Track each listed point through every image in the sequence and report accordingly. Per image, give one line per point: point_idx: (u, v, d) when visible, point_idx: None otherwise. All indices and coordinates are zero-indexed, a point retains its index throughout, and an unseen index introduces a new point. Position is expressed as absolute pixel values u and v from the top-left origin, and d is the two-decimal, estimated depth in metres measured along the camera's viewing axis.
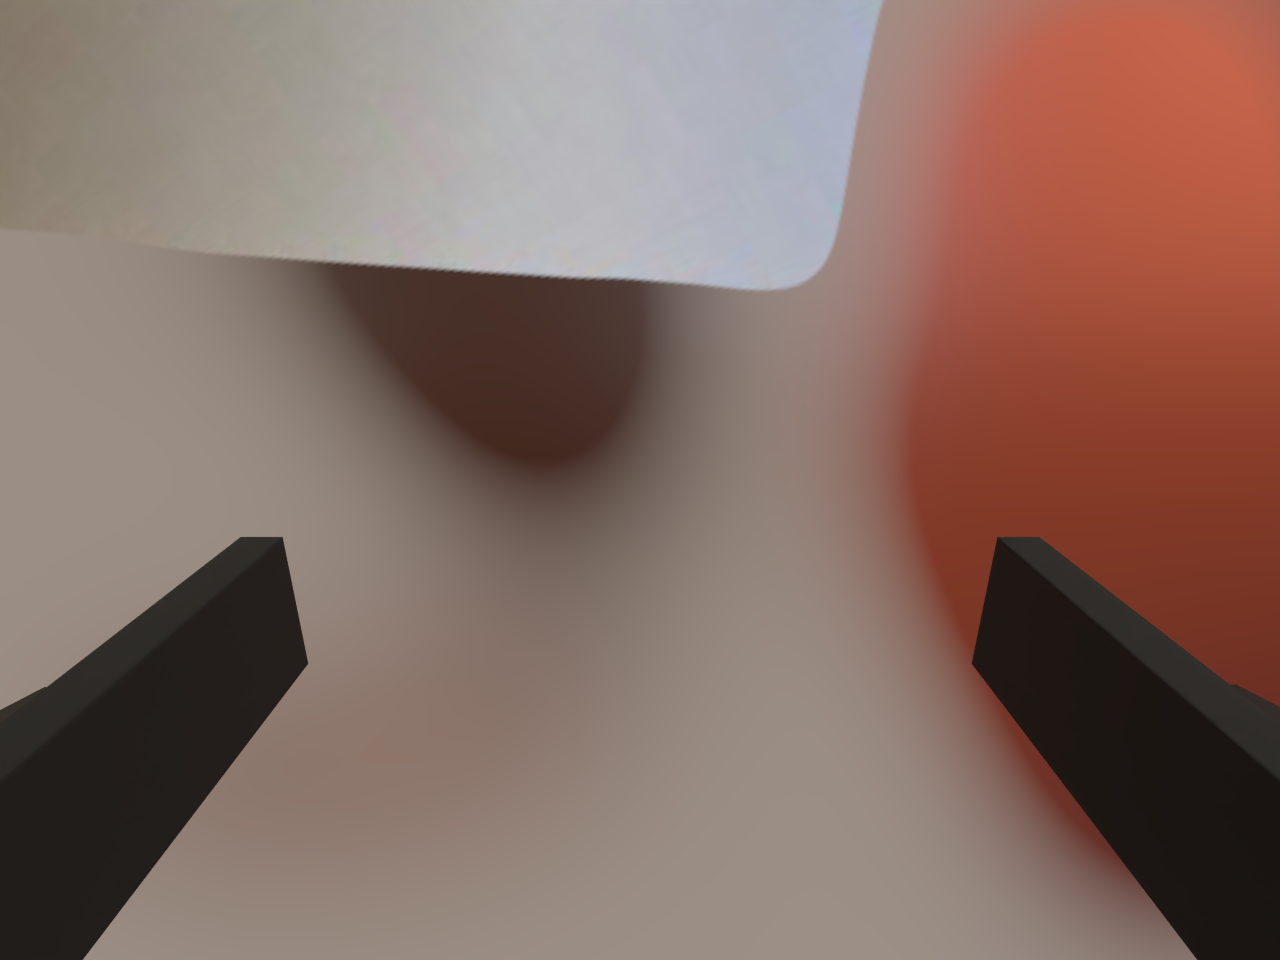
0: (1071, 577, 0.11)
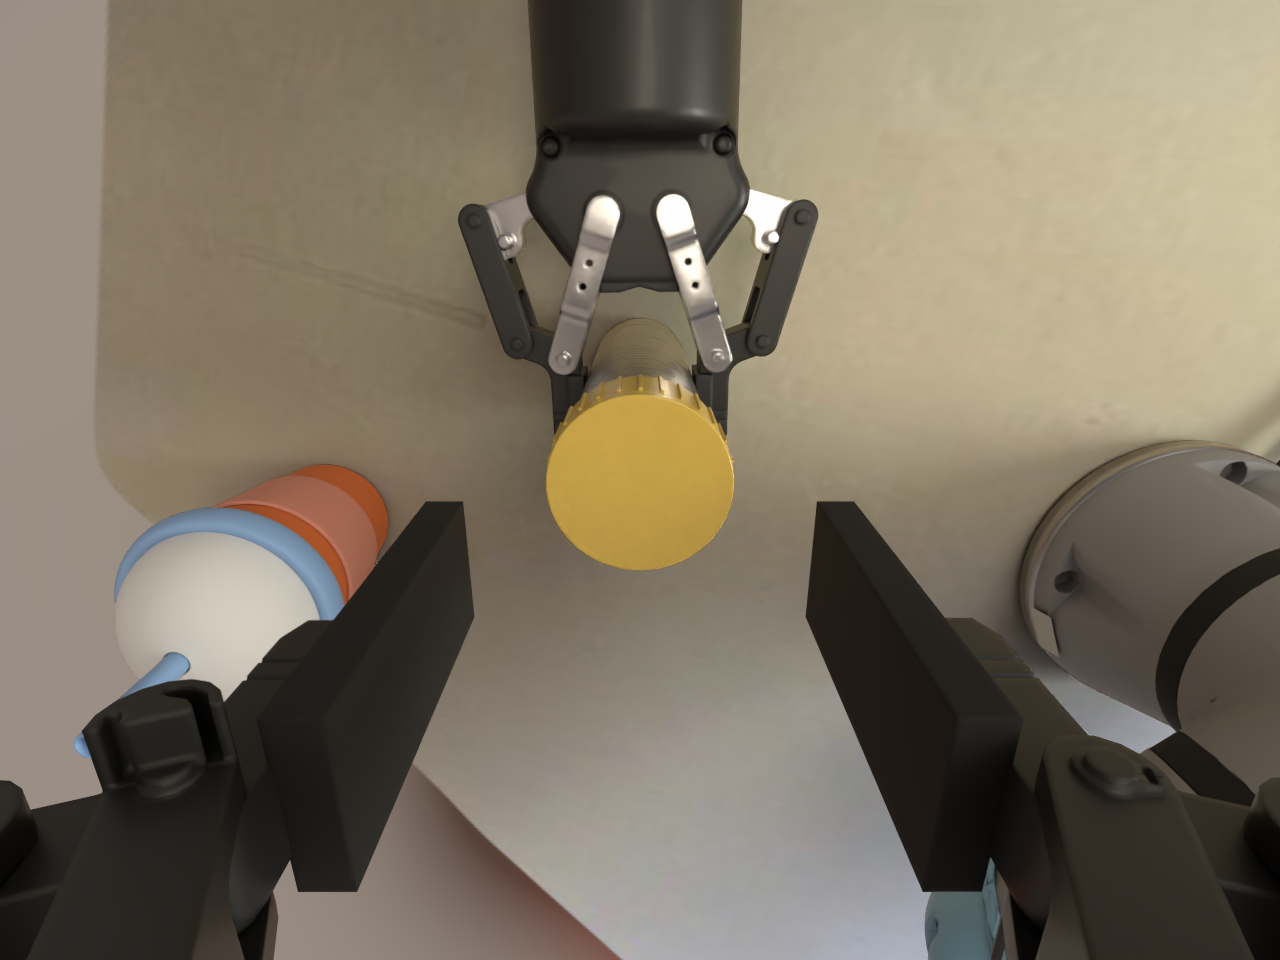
0: (862, 532, 0.12)
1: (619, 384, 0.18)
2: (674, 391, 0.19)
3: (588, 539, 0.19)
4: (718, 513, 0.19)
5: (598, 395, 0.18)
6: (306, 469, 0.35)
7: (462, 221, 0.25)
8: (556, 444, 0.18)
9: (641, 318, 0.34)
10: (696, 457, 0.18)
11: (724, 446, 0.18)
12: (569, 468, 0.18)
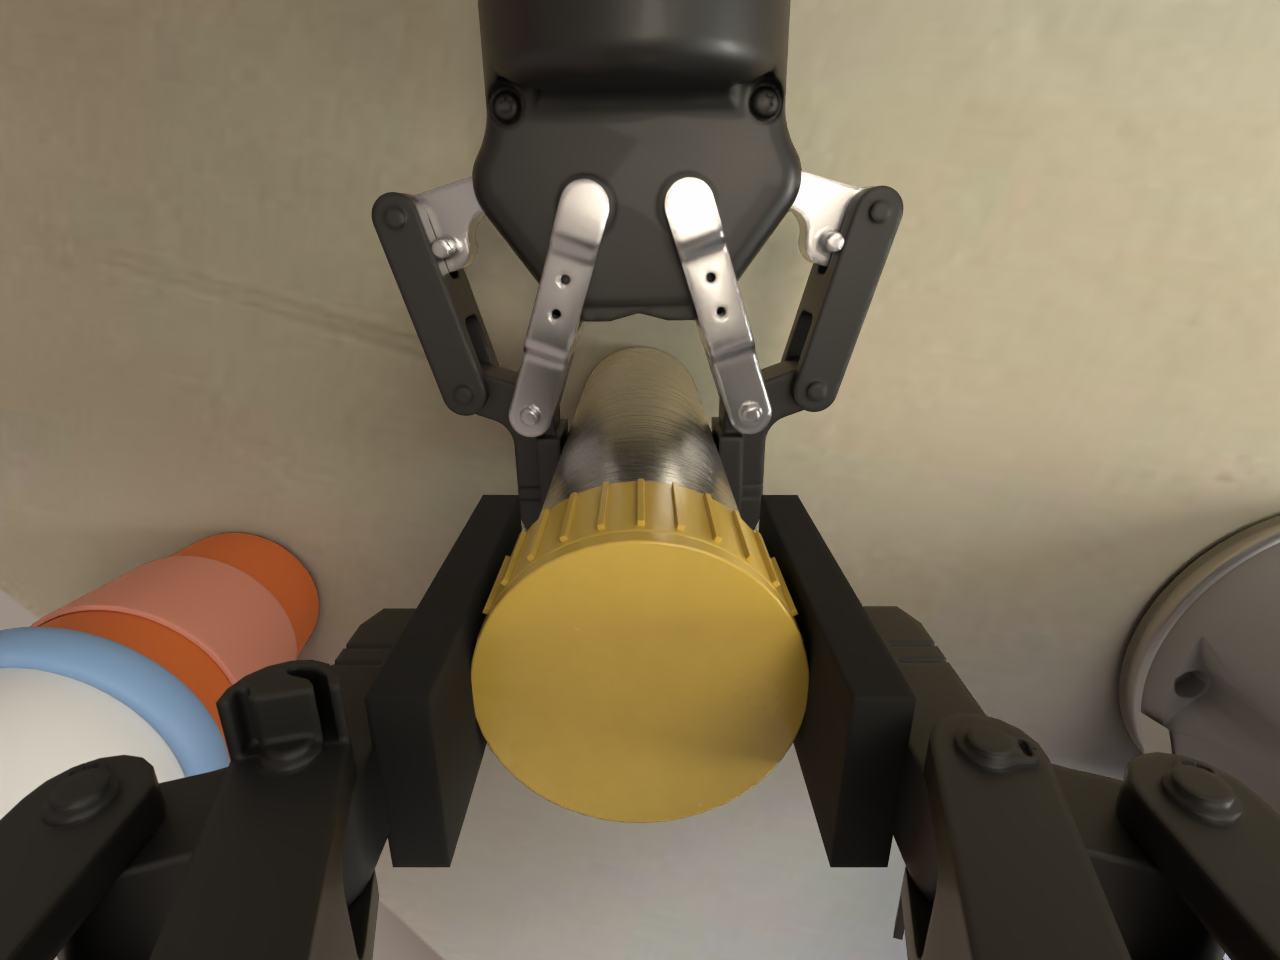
0: (798, 524, 0.13)
1: (603, 508, 0.10)
2: (701, 519, 0.10)
3: (549, 776, 0.11)
4: (779, 736, 0.10)
5: (564, 533, 0.10)
6: (206, 541, 0.27)
7: (378, 218, 0.17)
8: (486, 625, 0.10)
9: None
10: (743, 647, 0.10)
11: (795, 629, 0.10)
12: (511, 664, 0.10)
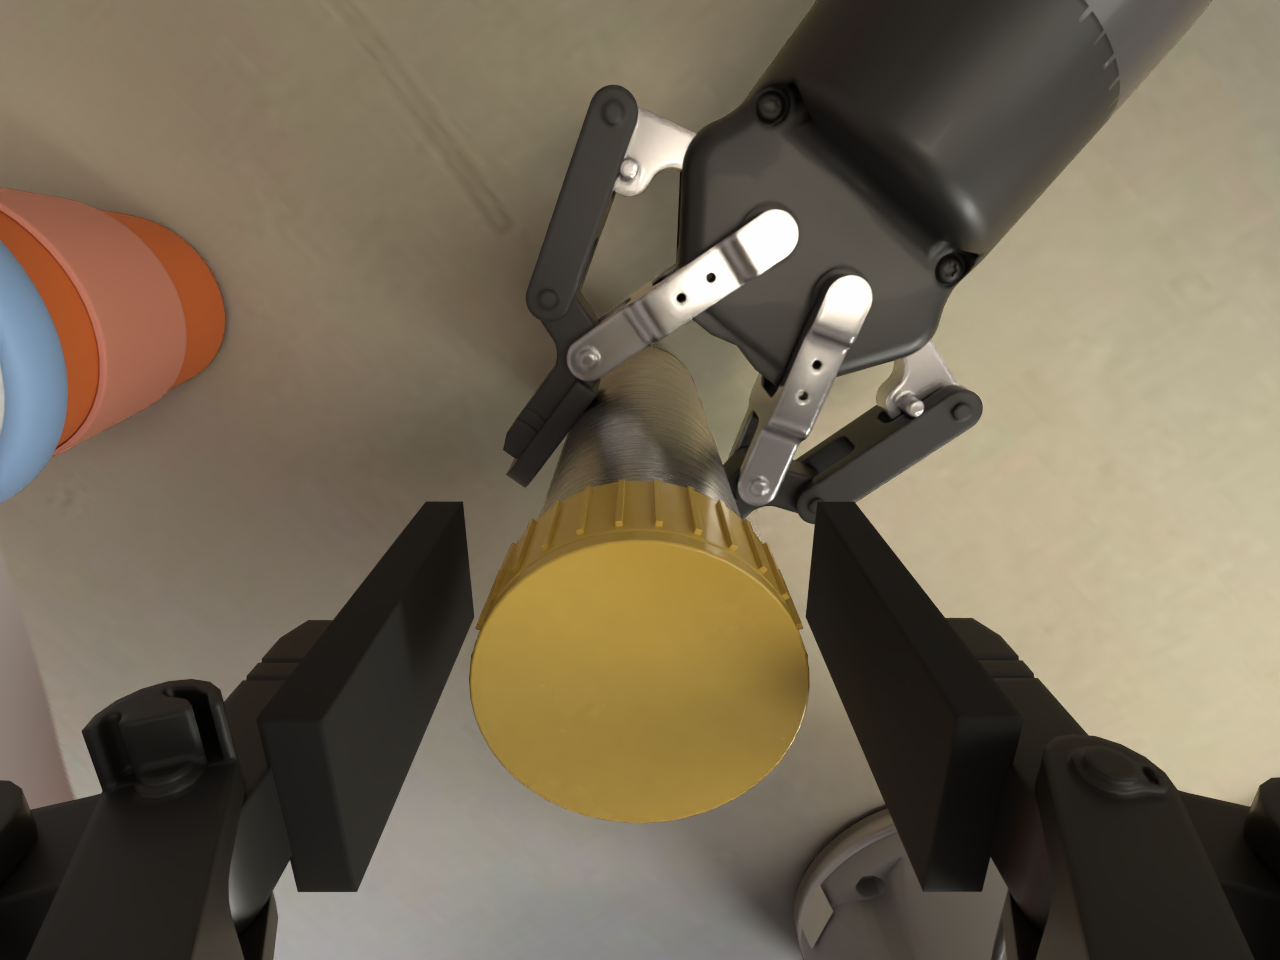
0: (861, 532, 0.12)
1: (499, 575, 0.11)
2: (573, 520, 0.10)
3: (646, 803, 0.11)
4: (782, 637, 0.10)
5: (478, 621, 0.10)
6: (146, 224, 0.23)
7: (598, 100, 0.16)
8: (482, 734, 0.10)
9: None
10: (671, 597, 0.10)
11: (693, 550, 0.09)
12: (529, 746, 0.11)
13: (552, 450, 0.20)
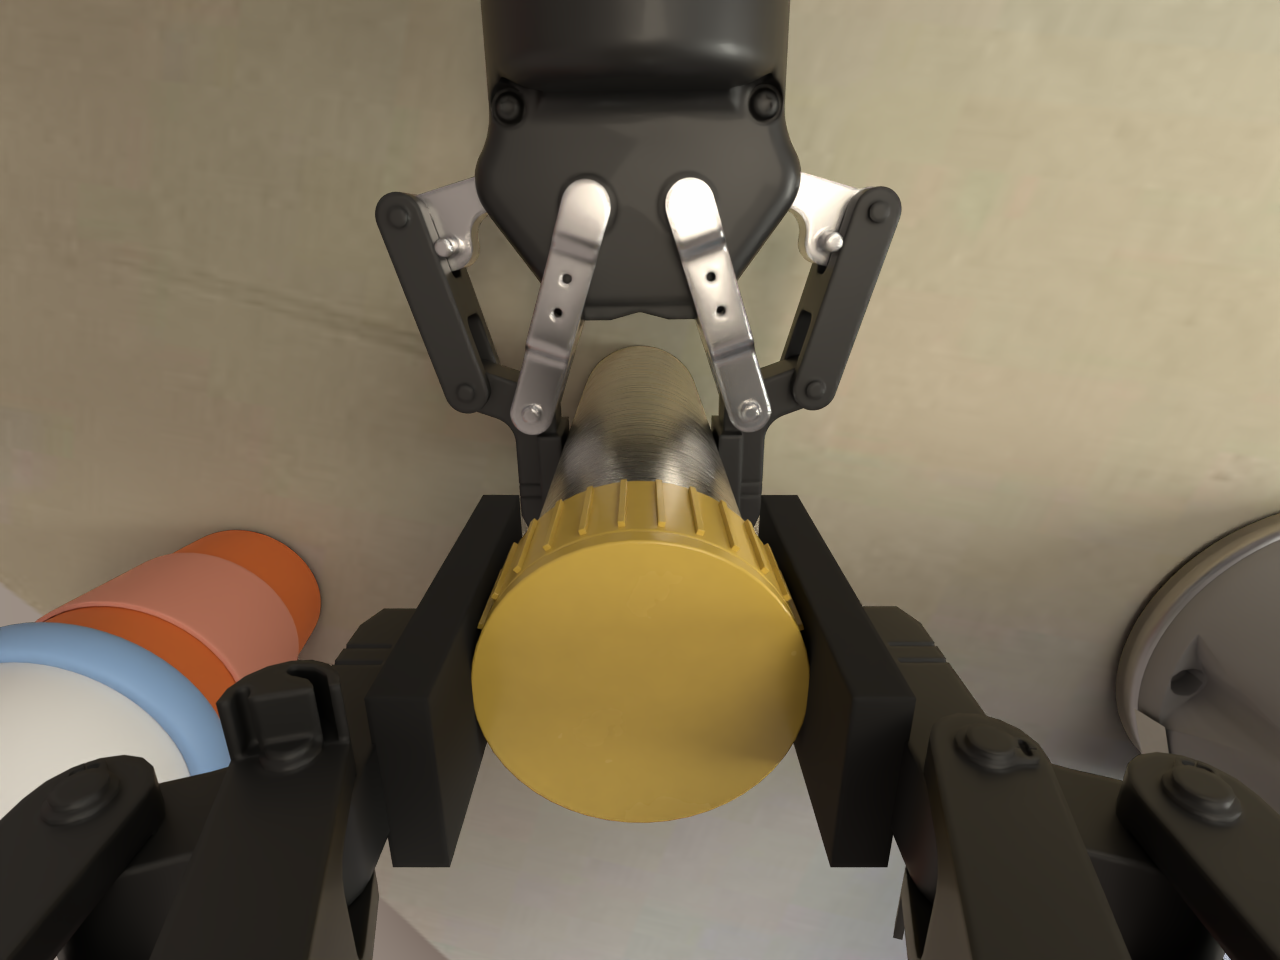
0: (798, 524, 0.13)
1: None
2: None
3: (729, 777, 0.11)
4: (713, 572, 0.09)
5: None
6: (209, 538, 0.28)
7: (381, 217, 0.17)
8: None
9: (642, 346, 0.26)
10: (593, 602, 0.10)
11: (575, 554, 0.09)
12: (594, 788, 0.11)
13: None
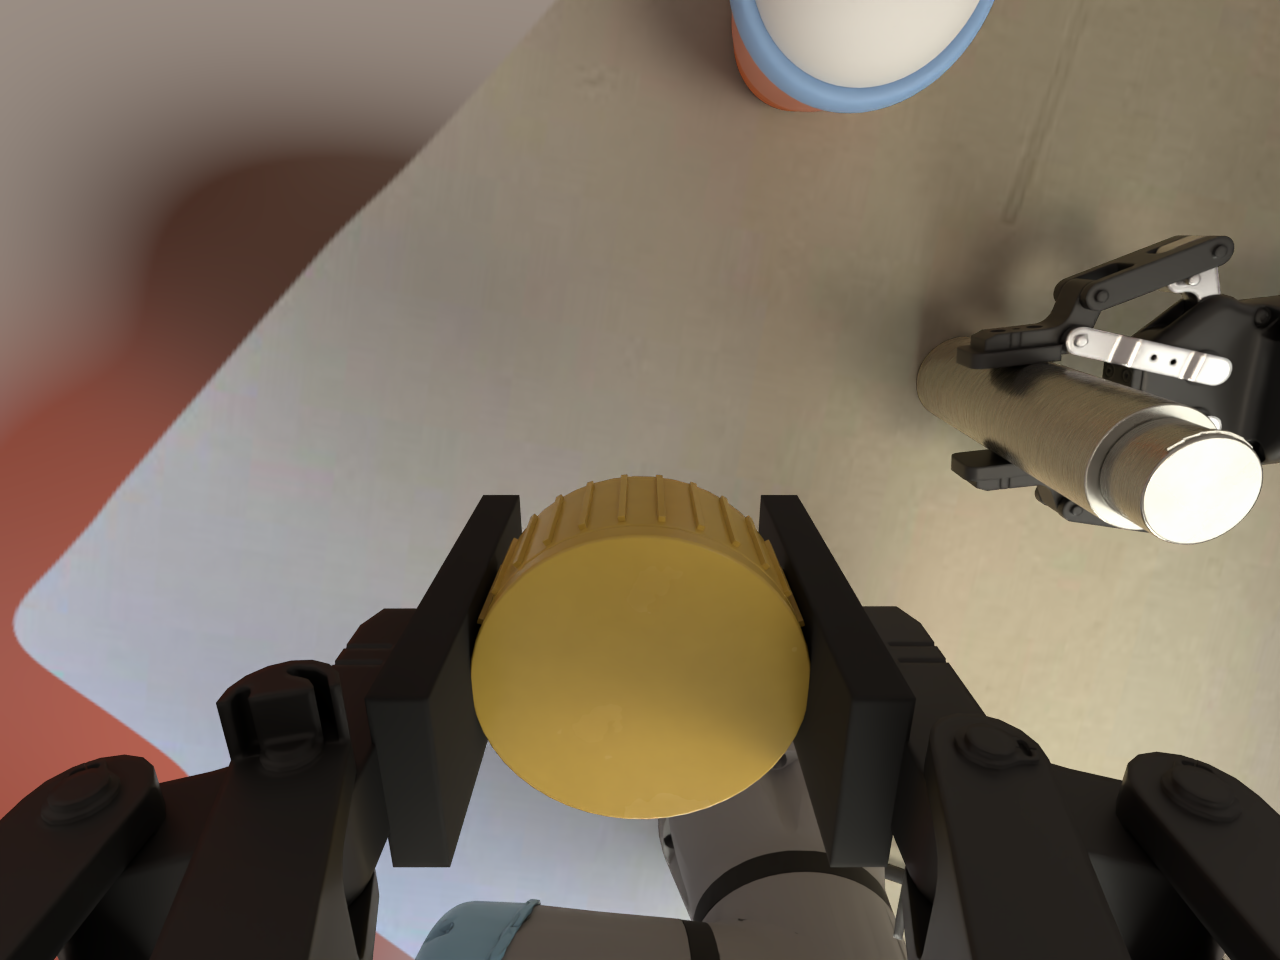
0: (798, 524, 0.13)
1: None
2: None
3: (729, 774, 0.11)
4: (714, 567, 0.09)
5: None
6: None
7: (1220, 240, 0.28)
8: None
9: None
10: (592, 597, 0.10)
11: (575, 548, 0.09)
12: (593, 784, 0.11)
13: (1012, 365, 0.29)
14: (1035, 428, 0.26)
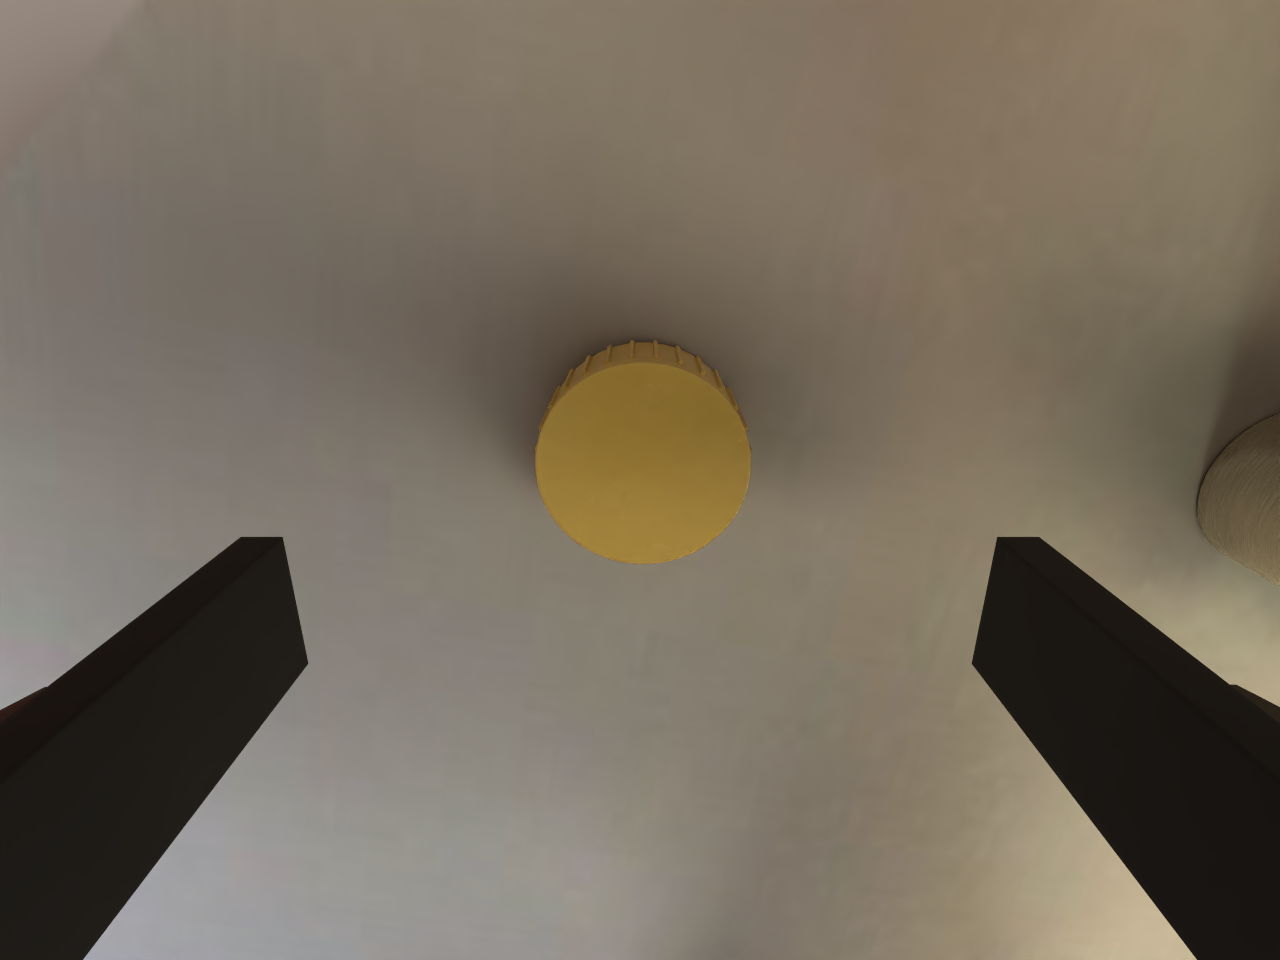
0: (1071, 577, 0.11)
1: None
2: None
3: (700, 530, 0.17)
4: (688, 383, 0.15)
5: None
6: None
7: None
8: (584, 547, 0.17)
9: None
10: (613, 404, 0.15)
11: (602, 371, 0.15)
12: (612, 538, 0.17)
13: None
14: None
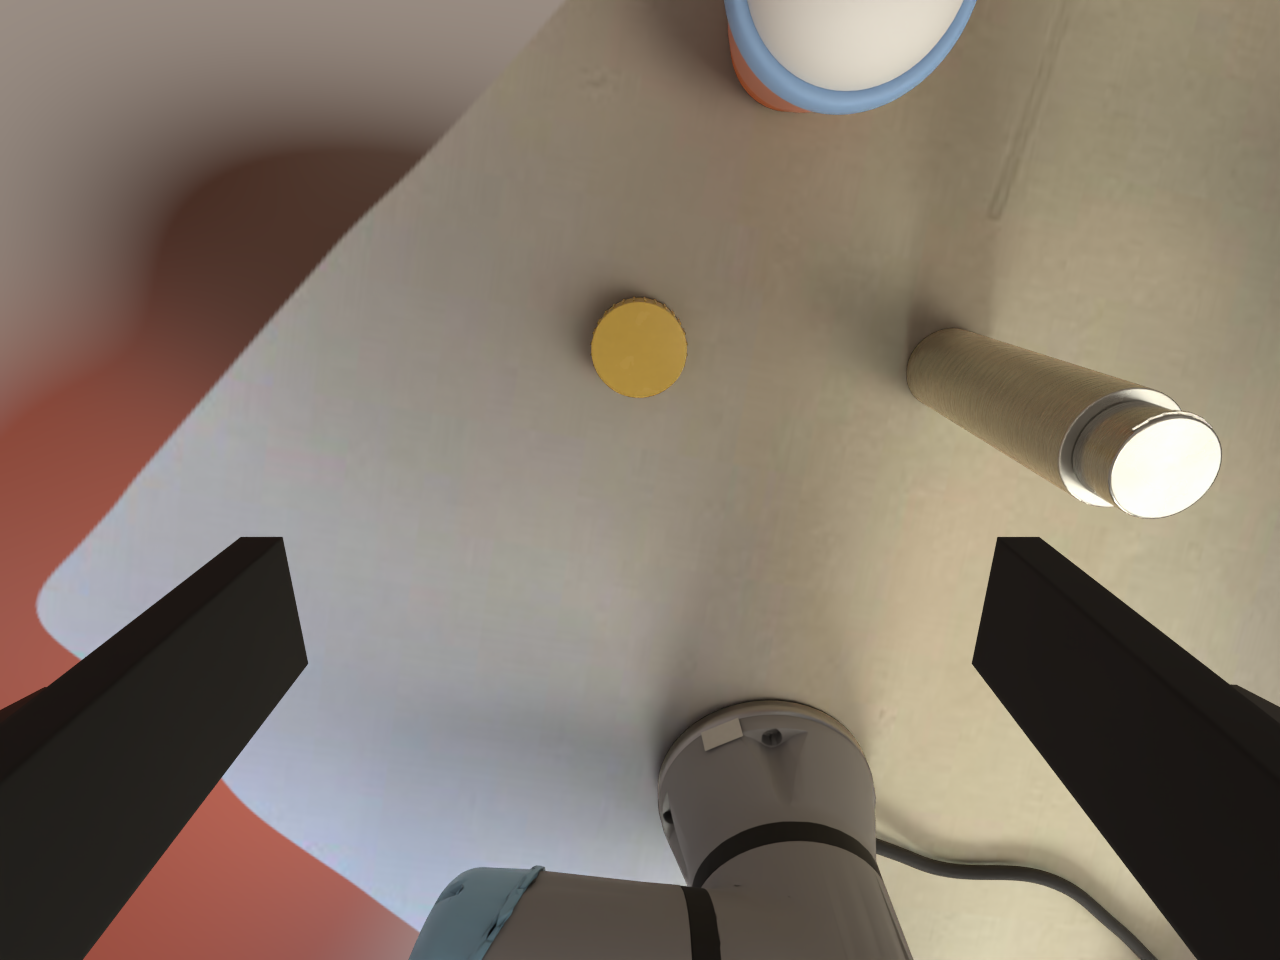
0: (1071, 577, 0.11)
1: None
2: None
3: (664, 380, 0.37)
4: (658, 311, 0.35)
5: (593, 364, 0.37)
6: None
7: None
8: (612, 389, 0.37)
9: None
10: (626, 320, 0.36)
11: (621, 305, 0.35)
12: (625, 384, 0.37)
13: None
14: (1014, 413, 0.28)
